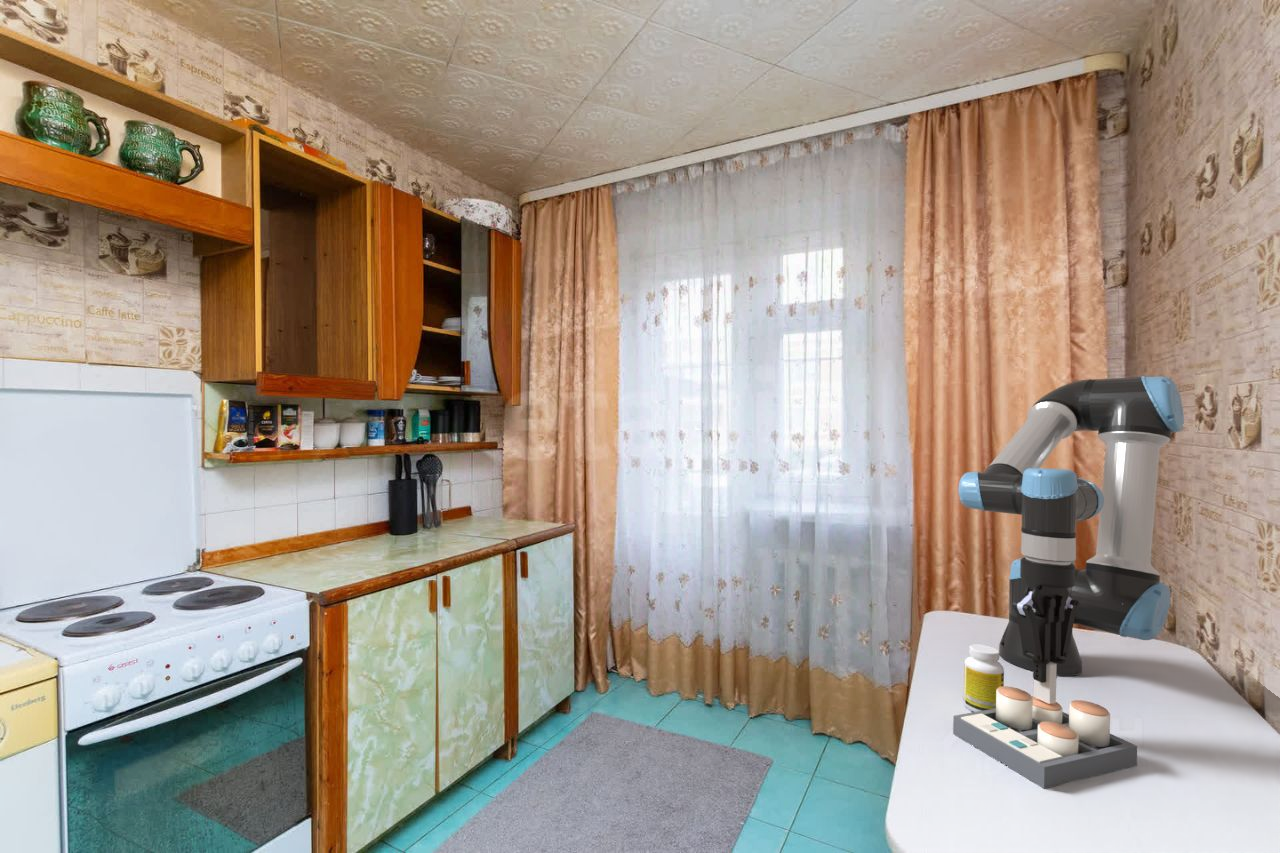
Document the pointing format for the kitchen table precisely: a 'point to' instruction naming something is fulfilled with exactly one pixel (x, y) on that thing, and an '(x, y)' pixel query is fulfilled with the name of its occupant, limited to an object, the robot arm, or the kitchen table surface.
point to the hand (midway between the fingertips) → (1044, 699)
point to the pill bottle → (982, 678)
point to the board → (1041, 750)
